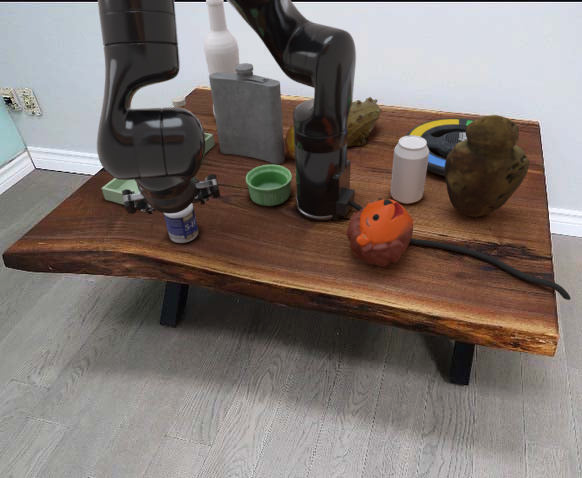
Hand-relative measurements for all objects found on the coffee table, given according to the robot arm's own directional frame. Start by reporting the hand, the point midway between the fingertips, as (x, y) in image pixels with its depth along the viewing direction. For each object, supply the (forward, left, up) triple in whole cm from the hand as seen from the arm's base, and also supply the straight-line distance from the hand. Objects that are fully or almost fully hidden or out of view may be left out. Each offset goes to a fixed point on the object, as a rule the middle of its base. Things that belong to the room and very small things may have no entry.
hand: (176, 203), depth 83 cm
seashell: (-14, -49, -9) cm, 51 cm away
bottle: (+18, -47, -9) cm, 51 cm away
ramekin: (-7, -20, -10) cm, 23 cm away
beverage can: (-32, -29, -9) cm, 44 cm away
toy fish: (-32, -11, -9) cm, 35 cm away
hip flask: (+4, -33, -9) cm, 34 cm away
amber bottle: (+19, -29, -9) cm, 36 cm away
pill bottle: (+2, -3, -9) cm, 10 cm away
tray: (+19, -20, -9) cm, 29 cm away
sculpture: (-45, -28, -10) cm, 54 cm away
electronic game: (-38, -48, -9) cm, 62 cm away
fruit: (-8, -36, -10) cm, 38 cm away
